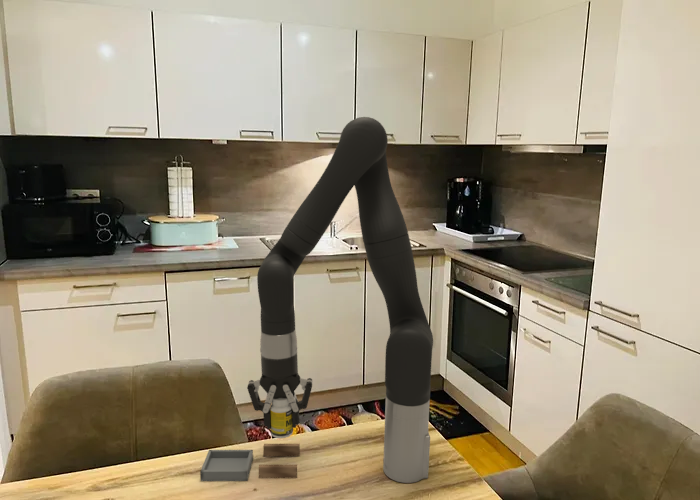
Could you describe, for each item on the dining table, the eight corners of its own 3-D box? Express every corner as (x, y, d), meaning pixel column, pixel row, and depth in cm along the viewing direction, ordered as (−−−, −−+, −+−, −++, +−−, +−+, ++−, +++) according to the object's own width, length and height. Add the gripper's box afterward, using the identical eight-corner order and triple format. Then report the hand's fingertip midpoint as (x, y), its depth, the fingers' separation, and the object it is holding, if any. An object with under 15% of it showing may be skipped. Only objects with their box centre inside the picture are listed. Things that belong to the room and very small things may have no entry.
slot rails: (299, 453, 118) (299, 443, 118) (297, 478, 109) (297, 467, 109) (264, 453, 118) (263, 443, 117) (258, 478, 109) (258, 467, 109)
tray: (253, 458, 116) (252, 449, 116) (247, 481, 108) (247, 471, 108) (209, 458, 116) (209, 449, 115) (200, 481, 108) (200, 471, 107)
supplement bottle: (289, 440, 109) (288, 402, 108) (267, 438, 110) (266, 400, 108) (295, 428, 114) (294, 392, 112) (275, 426, 115) (273, 390, 113)
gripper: (313, 343, 113) (315, 416, 116) (246, 345, 112) (250, 419, 115) (313, 356, 105) (315, 434, 108) (241, 358, 104) (245, 437, 107)
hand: (281, 426), depth 112 cm, fingers closed on supplement bottle, 4 cm apart
